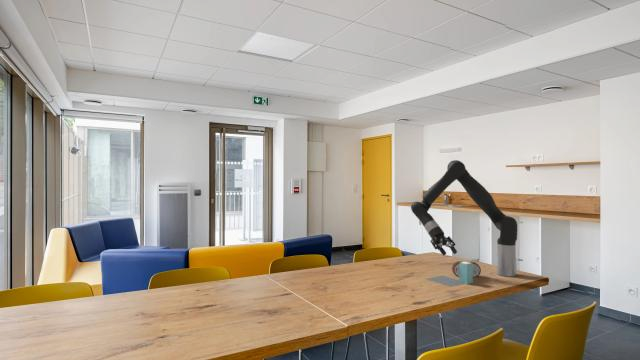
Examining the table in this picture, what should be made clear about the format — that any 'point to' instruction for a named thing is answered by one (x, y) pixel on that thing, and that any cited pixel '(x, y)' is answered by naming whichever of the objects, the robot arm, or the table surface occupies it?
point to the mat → (445, 280)
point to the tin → (475, 269)
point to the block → (466, 272)
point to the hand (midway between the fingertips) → (450, 253)
